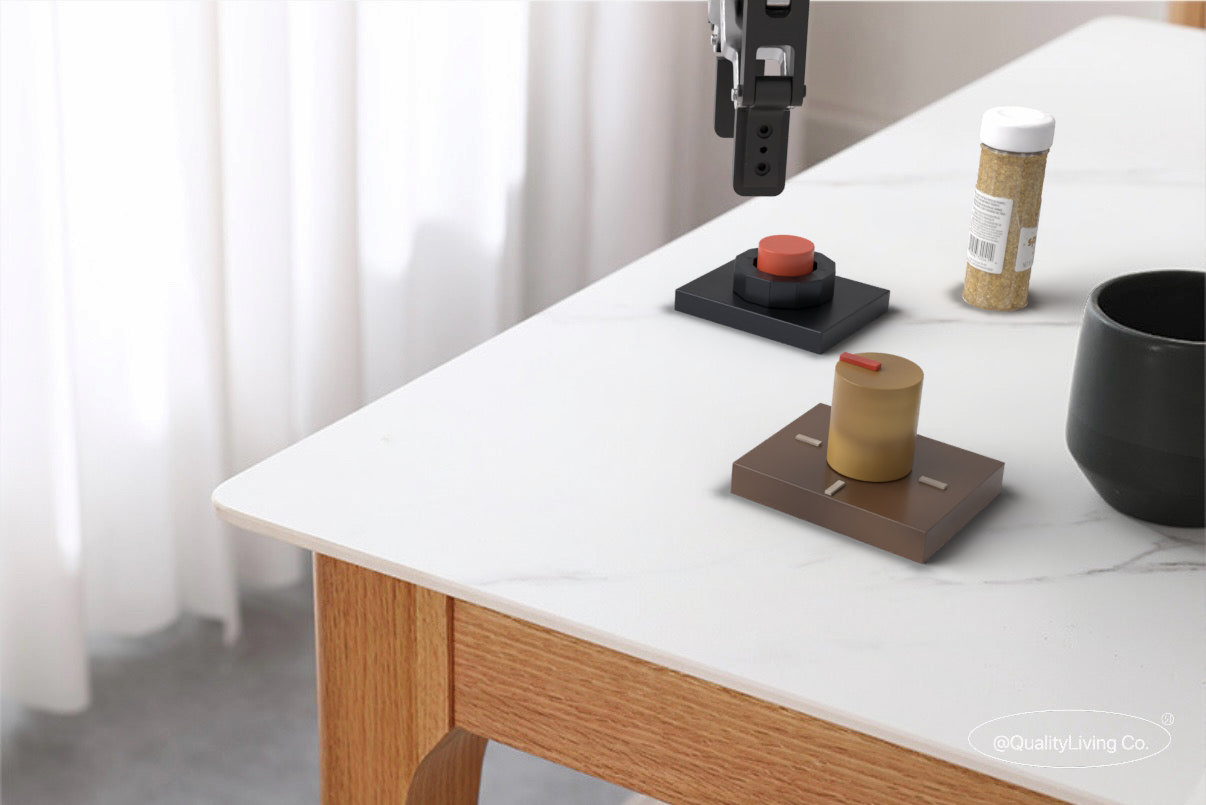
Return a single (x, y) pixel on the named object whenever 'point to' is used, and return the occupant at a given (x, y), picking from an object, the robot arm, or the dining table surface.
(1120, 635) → the dining table surface
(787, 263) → the button
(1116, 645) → the dining table surface
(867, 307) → the button block
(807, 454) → the lock plate
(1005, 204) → the sprinkles bottle
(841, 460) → the lock knob
